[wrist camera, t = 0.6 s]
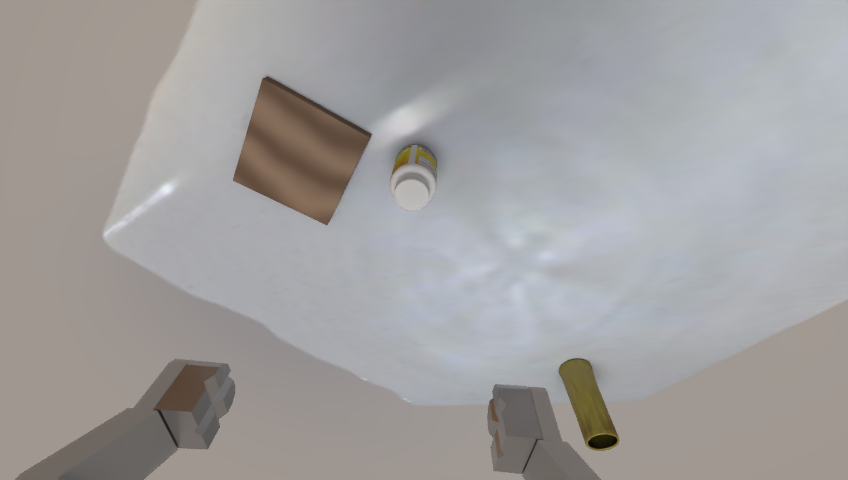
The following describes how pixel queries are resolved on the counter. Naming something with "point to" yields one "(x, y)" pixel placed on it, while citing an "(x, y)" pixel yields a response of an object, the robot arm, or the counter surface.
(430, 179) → the supplement bottle
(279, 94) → the walnut board
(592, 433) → the vase
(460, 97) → the counter surface
